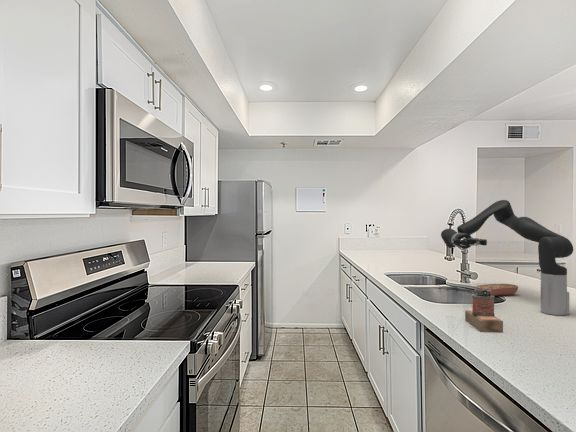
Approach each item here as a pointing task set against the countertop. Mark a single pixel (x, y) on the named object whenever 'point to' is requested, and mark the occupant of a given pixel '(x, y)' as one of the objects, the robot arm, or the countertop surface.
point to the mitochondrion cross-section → (499, 289)
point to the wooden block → (484, 322)
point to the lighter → (483, 303)
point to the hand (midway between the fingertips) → (475, 243)
